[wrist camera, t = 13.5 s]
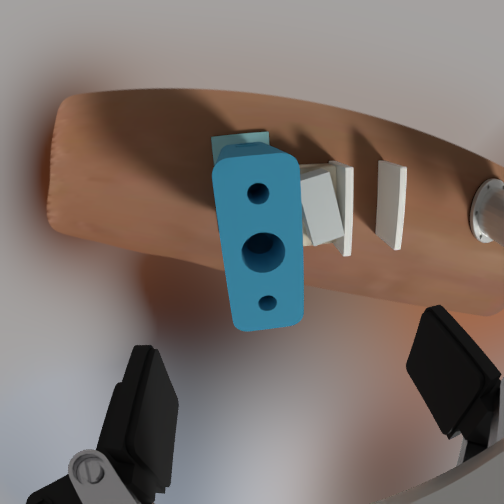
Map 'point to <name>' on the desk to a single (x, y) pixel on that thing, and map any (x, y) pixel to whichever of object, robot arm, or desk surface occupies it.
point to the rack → (387, 203)
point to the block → (260, 234)
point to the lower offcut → (332, 169)
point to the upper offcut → (320, 207)
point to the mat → (236, 141)
